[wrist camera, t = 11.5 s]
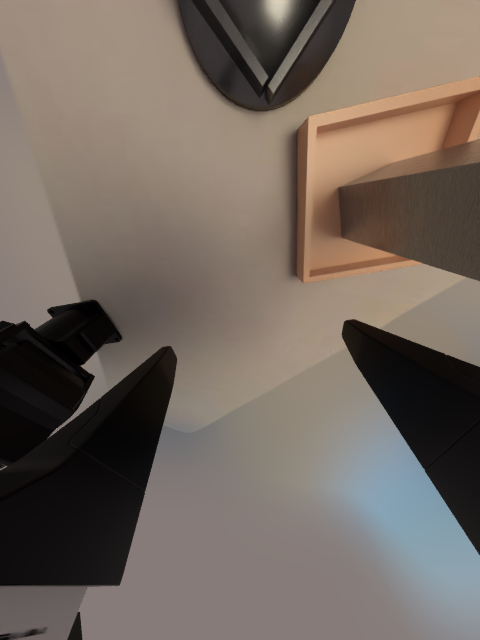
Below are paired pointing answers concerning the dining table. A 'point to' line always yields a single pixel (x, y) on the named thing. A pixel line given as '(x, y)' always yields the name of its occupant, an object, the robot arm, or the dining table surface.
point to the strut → (420, 209)
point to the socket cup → (264, 45)
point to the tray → (369, 166)
